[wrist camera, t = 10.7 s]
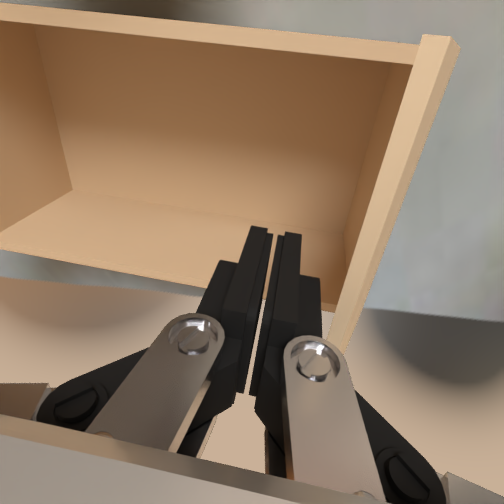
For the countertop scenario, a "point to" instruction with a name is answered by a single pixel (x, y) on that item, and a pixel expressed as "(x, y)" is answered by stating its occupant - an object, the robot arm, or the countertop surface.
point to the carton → (189, 141)
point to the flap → (394, 177)
